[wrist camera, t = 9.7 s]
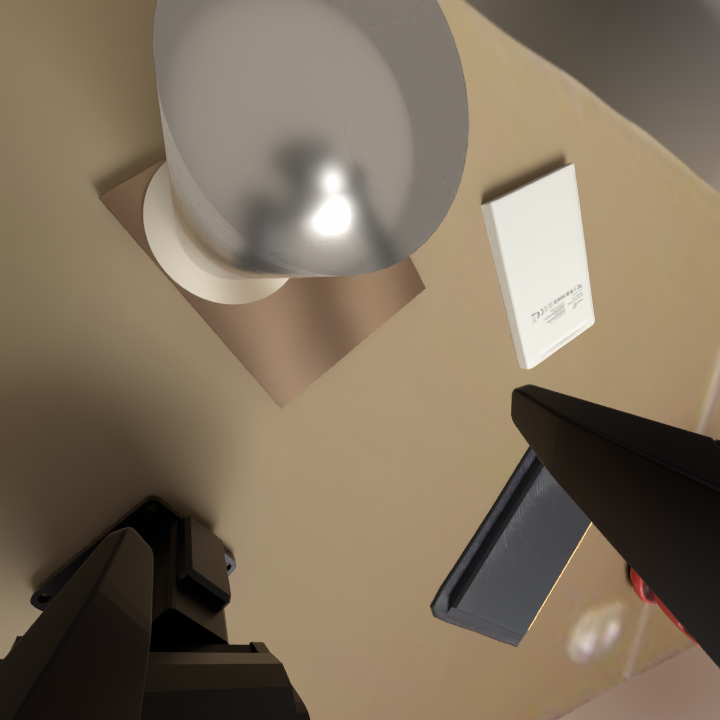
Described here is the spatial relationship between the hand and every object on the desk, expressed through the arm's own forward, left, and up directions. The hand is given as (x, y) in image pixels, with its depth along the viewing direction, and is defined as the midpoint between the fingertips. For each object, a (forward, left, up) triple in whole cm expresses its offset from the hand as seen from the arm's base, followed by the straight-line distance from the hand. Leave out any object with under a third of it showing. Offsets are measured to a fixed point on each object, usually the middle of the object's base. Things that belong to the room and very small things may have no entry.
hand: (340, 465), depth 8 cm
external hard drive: (+20, -8, -13) cm, 25 cm away
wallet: (+9, -29, -13) cm, 33 cm away
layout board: (+5, +3, -12) cm, 13 cm away
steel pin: (+3, +6, -11) cm, 13 cm away
